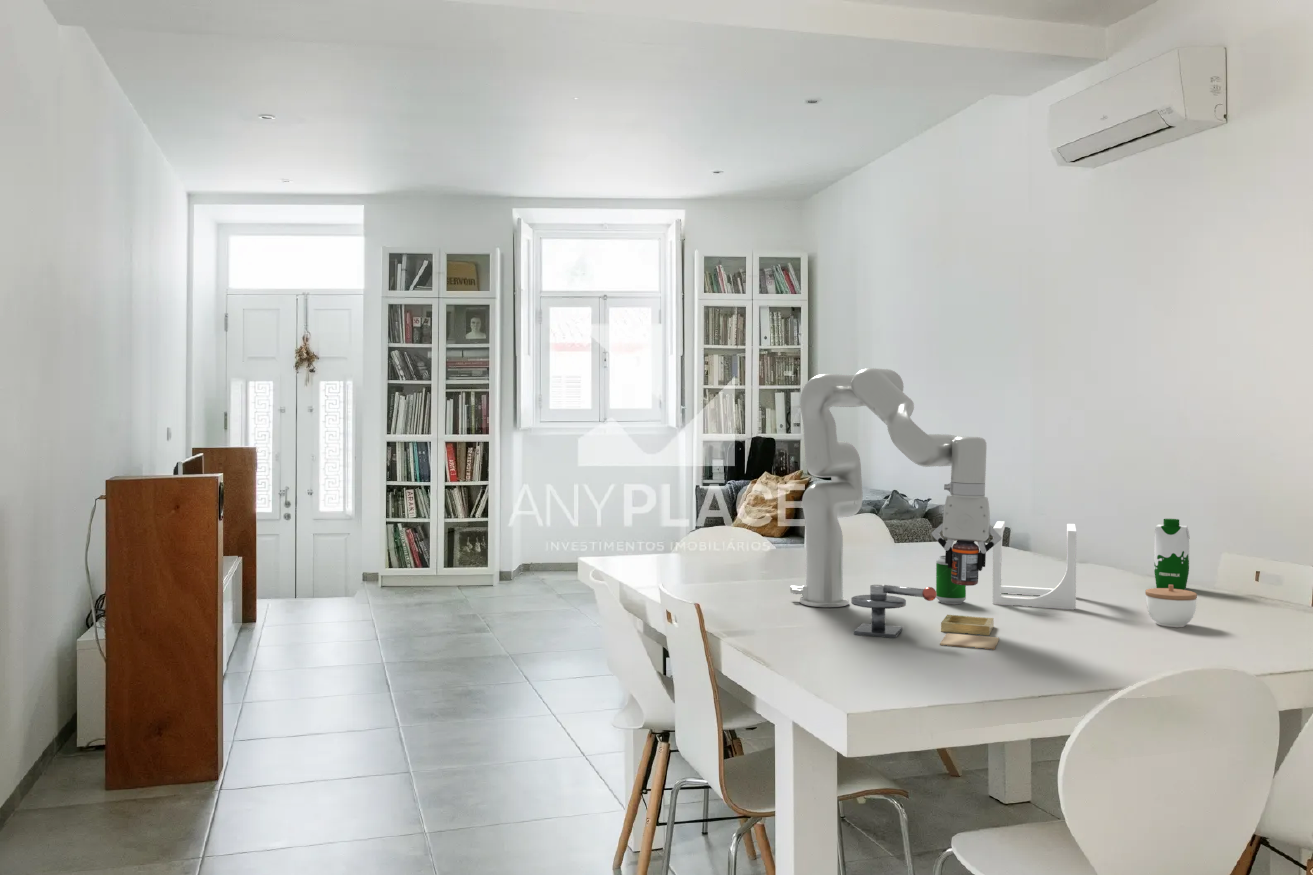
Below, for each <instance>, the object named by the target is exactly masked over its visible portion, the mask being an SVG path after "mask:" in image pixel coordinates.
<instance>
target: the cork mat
mask: <svg viewBox="0 0 1313 875" xmlns="http://www.w3.org/2000/svg"><path fill="white" fill-rule="evenodd" d="M999 641H1000V638H999V637H998V636H997V637H996V636H987V635H975V634H963V633H951V632H946V634H945V635H944V637H943V638H942V639H941V641H940V643H939V646H944V645H947V646H946V647H955V646H956V647H957V648H967V647H975V648H974V649H978V648H985V649H984V650H989V649H992V650H993V651H995V649H996V647H997V645H998V642H999Z"/></svg>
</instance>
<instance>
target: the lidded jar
mask: <svg viewBox="0 0 1313 875" xmlns="http://www.w3.org/2000/svg"><path fill="white" fill-rule="evenodd" d="M1197 597H1198V593H1196V592H1194V591H1191V590H1186V589H1185V590H1181V589H1173V585H1169V588H1157V587H1153V588H1152V587H1151V588H1147V589H1146V590H1145V603H1146V609H1147V612H1148V615H1149V616H1150V618H1151V619H1152V620H1153V621H1154V622H1155V624H1156V625H1158V626H1160V627H1161V626H1162V627H1168V628H1183V627H1186V625H1187V624H1189V623H1190V621H1192V619H1193V618H1194V615H1195V614H1196V609H1197Z"/></svg>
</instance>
